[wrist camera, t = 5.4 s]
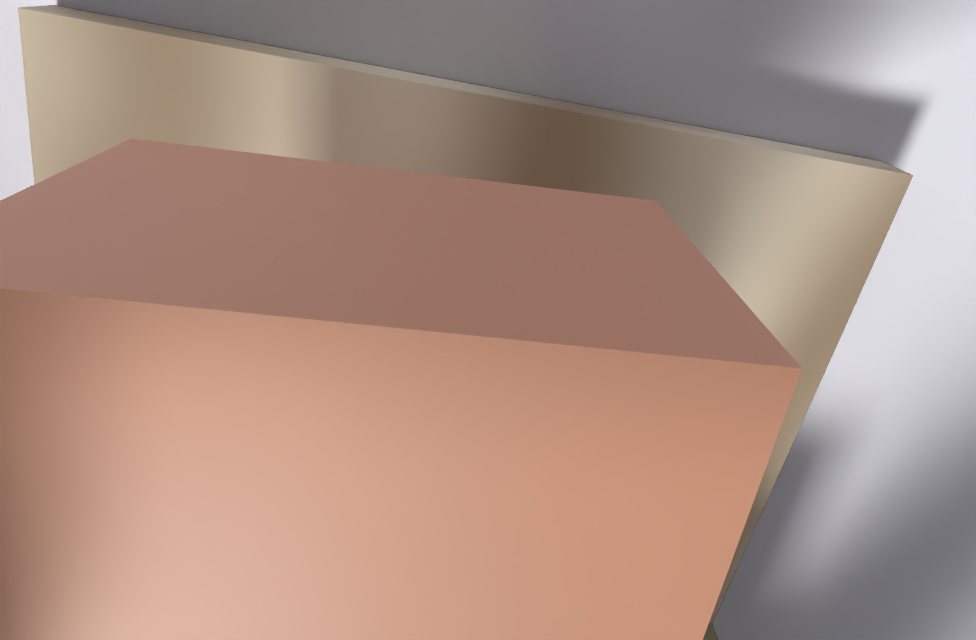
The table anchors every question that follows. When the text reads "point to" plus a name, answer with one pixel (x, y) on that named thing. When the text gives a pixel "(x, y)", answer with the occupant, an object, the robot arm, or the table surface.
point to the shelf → (483, 160)
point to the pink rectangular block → (366, 407)
